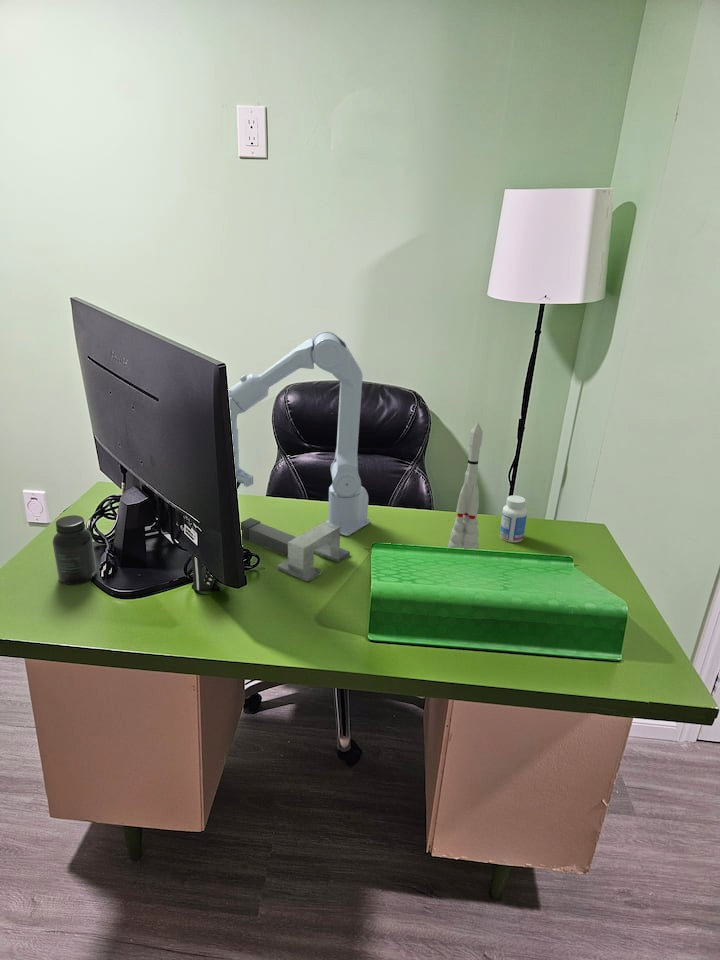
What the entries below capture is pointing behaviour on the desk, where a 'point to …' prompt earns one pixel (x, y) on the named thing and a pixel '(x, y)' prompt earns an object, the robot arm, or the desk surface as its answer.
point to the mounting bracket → (313, 551)
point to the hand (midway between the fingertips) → (227, 506)
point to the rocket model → (468, 499)
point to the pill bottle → (513, 519)
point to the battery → (201, 576)
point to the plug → (266, 536)
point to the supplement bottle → (73, 550)
